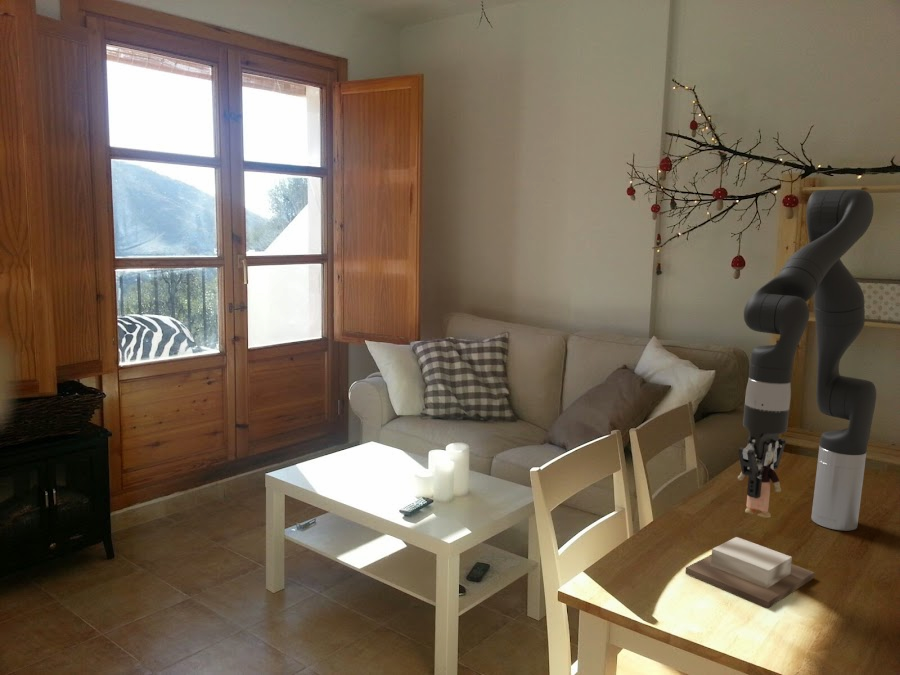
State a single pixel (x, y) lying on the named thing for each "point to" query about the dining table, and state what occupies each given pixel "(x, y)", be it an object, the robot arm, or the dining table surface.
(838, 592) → the dining table surface
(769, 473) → the grandmother figurine
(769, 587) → the plinth
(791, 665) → the dining table surface
